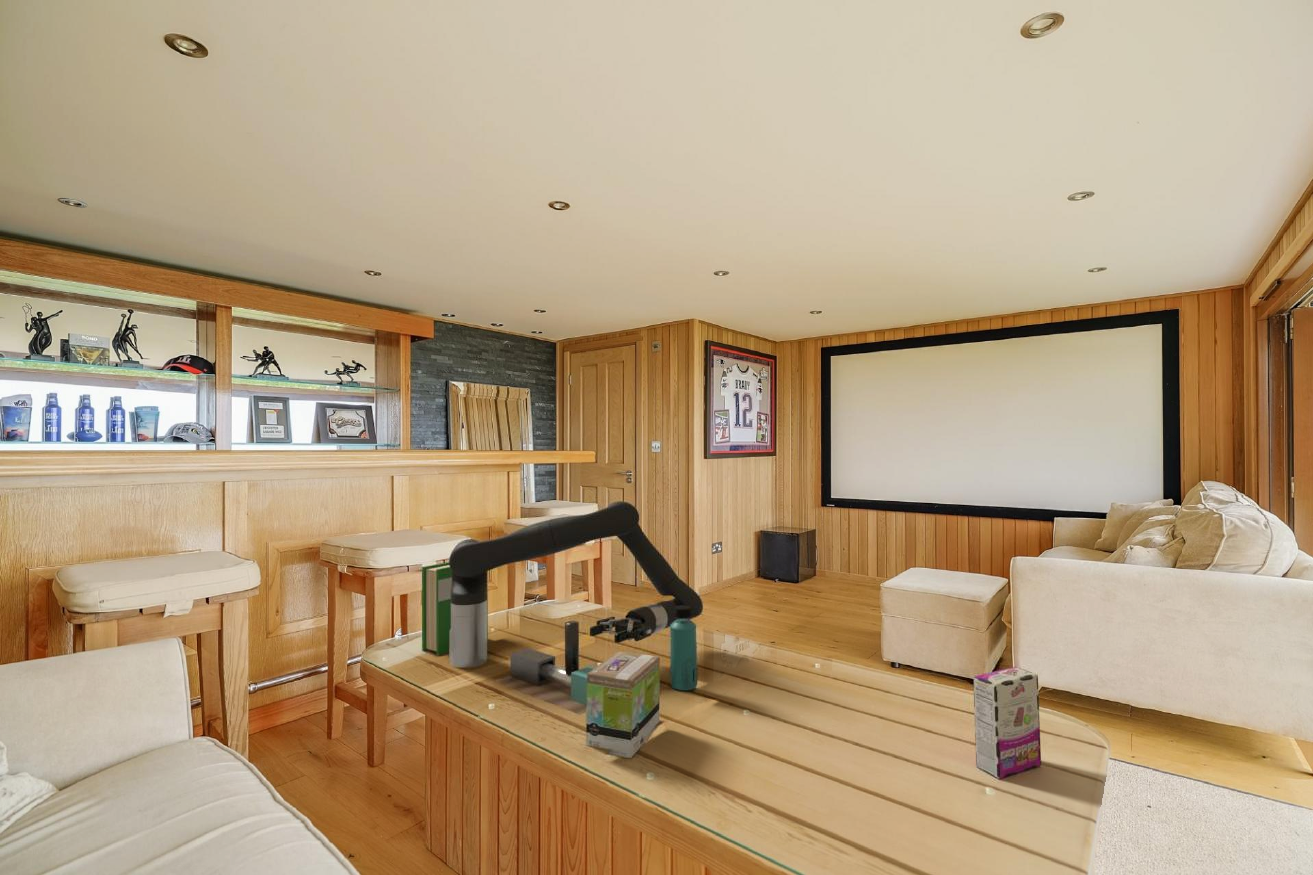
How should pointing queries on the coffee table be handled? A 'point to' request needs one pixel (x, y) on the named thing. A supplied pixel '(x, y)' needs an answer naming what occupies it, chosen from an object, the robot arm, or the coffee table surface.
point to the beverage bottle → (683, 650)
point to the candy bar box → (1007, 722)
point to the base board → (546, 693)
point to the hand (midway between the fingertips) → (602, 635)
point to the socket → (580, 685)
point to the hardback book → (437, 607)
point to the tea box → (623, 702)
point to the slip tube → (571, 657)
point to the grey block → (529, 665)
